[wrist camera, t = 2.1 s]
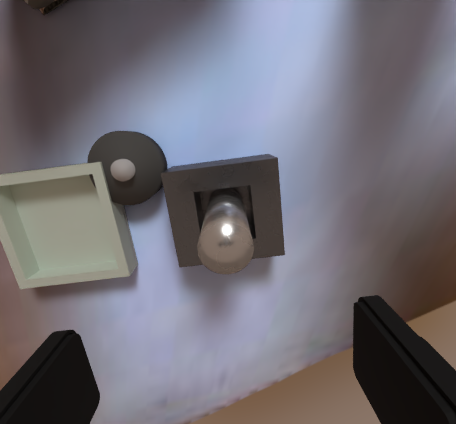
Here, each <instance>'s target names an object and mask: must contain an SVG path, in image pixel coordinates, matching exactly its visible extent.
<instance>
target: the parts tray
mask: <svg viewBox="0 0 456 424" xmlns="http://www.w3.org/2000/svg"><path fill="white" fill-rule="evenodd" d="M89 174H93V178H94V182H95V185H96V188H95V186H94V185H93V183H92V181H91V179H90V176H89ZM0 240H1V243H2V245H3V247H4V250H5V252H6V255H7V257H8V260H9V262H10V265H11V267H12V270H13V272H14V275H15V277H16V280H17V282H18V285H19V287H20V289H25V288H34V287H42V286H50V285H59V284H67V283H76V282H84V281H93V280H101V279H110V278H118V277H127V276H130V275H131V274H132V272H133V271H134V270H135V268H136V267H137V265H138V261H137V257H136V253H135V249H134V245H133V241H132V237H131V233H130V229H129V225H128V221H127V217H126V213H125V209H124V205H122V204H117V203H114V202H112V200H111V196H110V193H109V189H108V185H107V181H106V177H105V173H104V170H103V166H102V162H95V163H88V164H87V163H82V164H75V165H67V166H60V167H52V168H44V169H37V170H29V171H22V172H14V173H7V174H0Z"/></svg>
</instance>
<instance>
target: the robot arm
mask: <svg viewBox="0 0 456 424" xmlns="http://www.w3.org/2000/svg"><path fill="white" fill-rule="evenodd" d="M353 368H354V373H355V376H356V378H357V380H358V382H359V384H360V386H361V387H362V389H363V391H364V393H365V395H366V397H367V399H368V400H369V402H370V404H371V406H372V408H373V409H374V411H375V413H376V415H377V417H378V419H379V421H380V422H381V424H456V371H455V369H454V368H453V367H451V365H450V364H449V363H448V362H447V361H446V360H445V359H444V358H443V357H442V356H441V355H440V354H439V353H438V352H437V351H436V350H435V349H434V348H433V347H432V346H431V345H430V344H429V343H428V342H427V341H426V340H424V339H423V338H422V337H420V336H418V335H417V334H416V333H415V332H414V331H413V330H412V329H411V328H410V327H409V326H408V325H407V324H406V323H405V322H404V321H403V319H402V318H401V317H400V316H399V315H398V314H397V313H396V312H395V311H394V310H393V309H392V308H391V307H390V306H389V305H388V304H387V303H386V302H385V301H384V300H383V299H382V298H381V297H380V296H378V295H375V296H366V297H360V298H359V300H358V302H355V303H354V323H353ZM99 400H100V393H99V390H98V387H97V384H96V381H95V378H94V375H93V372H92V369H91V366H90V363H89V360H88V357H87V354H86V351H85V348H84V346H83V343H82V340H81V337H80V335H79V334H76V332H75V331H74V330H65V331H56V332H53V333H52V334H51V335H50V336H49V337H48V338H47V339H46V340H45V341H44V342H43V344H42V345H41V346H40V347H39V348H38V349H37V350H36V351H35V353H34V354H33V355H32V356H31V357H30V358H29V359H28V360H27V362H26V363H25V364H24V365H23V366H22V367H21V368H20V369H19V370H18V372H17V373H16V374H15V375H14V376H13V377H12V378H11V379H10V381H9V382H8V383H7V384H6V385H5V386H4V387H3V388H2V390H1V391H0V424H90V421H91V419H92V417H93V415H94V413H95V411H96V409H97V407H98V404H99Z"/></svg>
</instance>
